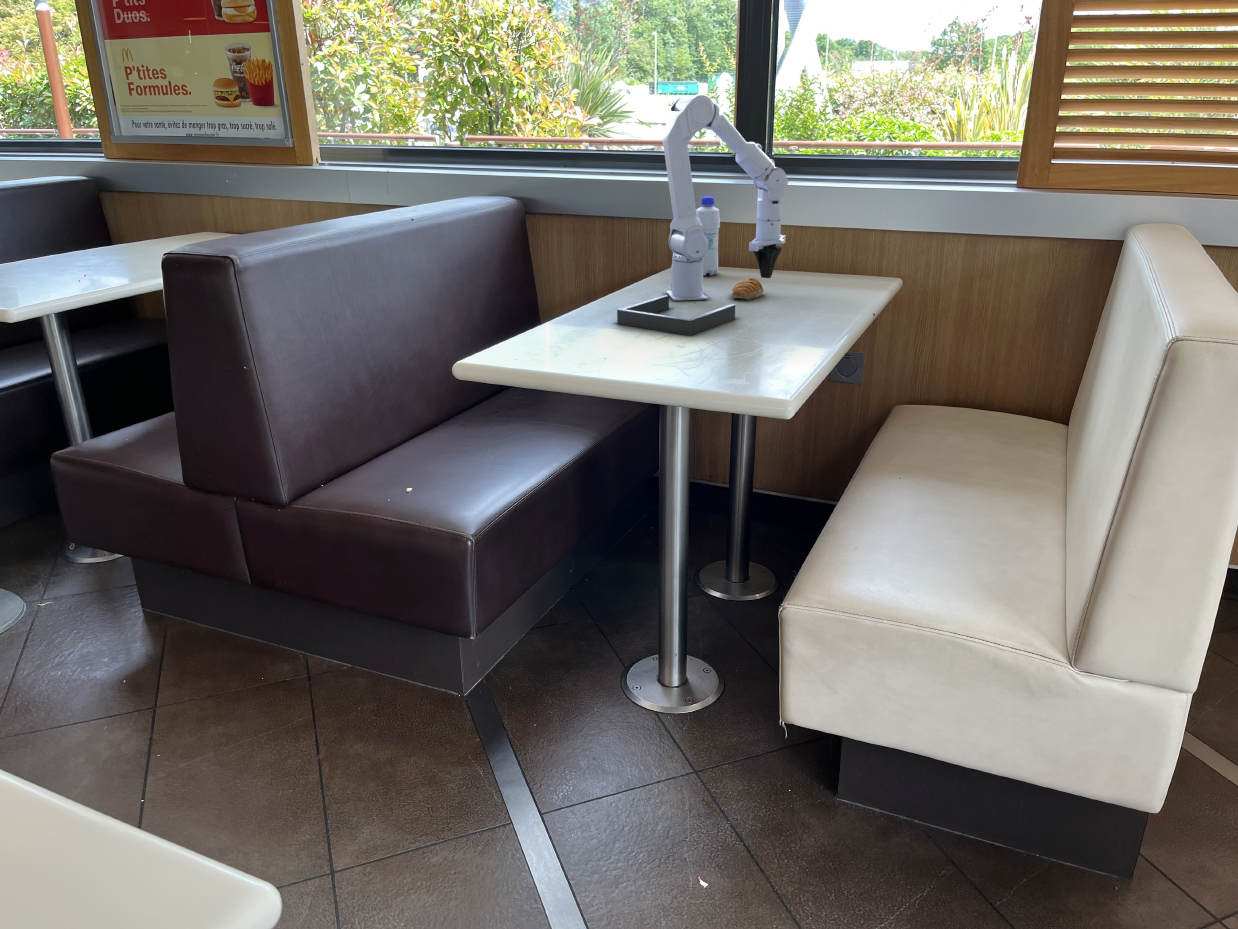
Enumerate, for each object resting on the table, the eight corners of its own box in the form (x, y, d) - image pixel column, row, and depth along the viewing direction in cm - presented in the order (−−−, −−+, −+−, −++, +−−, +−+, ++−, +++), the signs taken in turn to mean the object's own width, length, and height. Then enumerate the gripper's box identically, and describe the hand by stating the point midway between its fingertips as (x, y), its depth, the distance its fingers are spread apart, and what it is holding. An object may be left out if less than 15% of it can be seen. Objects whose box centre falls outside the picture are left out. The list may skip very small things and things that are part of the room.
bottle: (716, 276, 234) (719, 197, 226) (691, 276, 235) (693, 197, 228) (720, 272, 240) (722, 194, 232) (695, 271, 241) (697, 194, 234)
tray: (664, 308, 200) (664, 294, 199) (735, 318, 190) (735, 304, 189) (617, 323, 187) (616, 309, 186) (690, 335, 177) (690, 320, 176)
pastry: (754, 302, 205) (754, 285, 203) (725, 300, 207) (726, 283, 206) (764, 294, 213) (765, 277, 211) (737, 292, 215) (737, 276, 214)
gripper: (769, 224, 203) (766, 284, 208) (798, 217, 214) (794, 274, 219) (742, 222, 207) (740, 280, 212) (771, 215, 218) (769, 271, 223)
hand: (766, 277), depth 216 cm, fingers closed
